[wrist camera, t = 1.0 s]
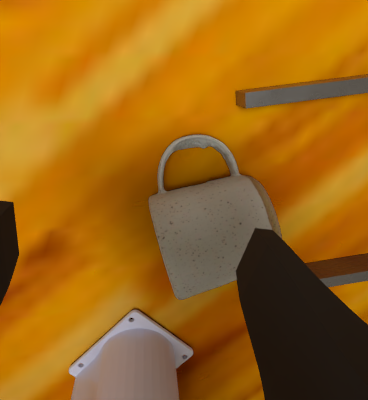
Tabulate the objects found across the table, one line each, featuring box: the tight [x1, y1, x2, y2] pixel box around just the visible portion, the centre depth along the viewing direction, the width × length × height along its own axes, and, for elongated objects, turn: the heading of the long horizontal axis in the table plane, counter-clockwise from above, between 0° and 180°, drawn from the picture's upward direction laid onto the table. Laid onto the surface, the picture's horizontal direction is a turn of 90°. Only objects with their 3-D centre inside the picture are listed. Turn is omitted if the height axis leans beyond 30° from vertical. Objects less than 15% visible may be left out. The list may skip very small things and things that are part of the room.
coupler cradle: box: [236, 74, 368, 287], centre depth 26 cm, size 16×17×4 cm
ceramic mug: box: [149, 134, 282, 300], centre depth 23 cm, size 11×8×8 cm
